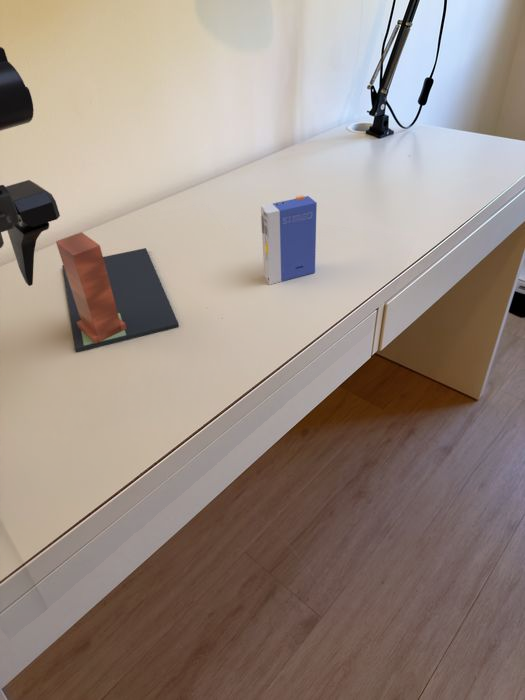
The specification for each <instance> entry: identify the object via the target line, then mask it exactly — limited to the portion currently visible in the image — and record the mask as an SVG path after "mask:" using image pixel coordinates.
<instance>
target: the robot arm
mask: <svg viewBox="0 0 525 700" xmlns="http://www.w3.org/2000/svg"><path fill="white" fill-rule="evenodd" d="M34 111H35V110H34V102H33V98H32V94H31V91H30V88H29V87H28V86H26V84H25V82H24V80H23V78H22V76H21V75H20V73H19V72H18V70H17V69H16V68H15V67H14V66H13V64H12V63H11V62H10V61H8V56H7V53H6V51H5V48H3V47H2V46H0V132H2V131H5V130H8V129H12V128H16V127H20V126H21V125H26V124H29V123H30V122H31V121H32V120H33V119H34ZM60 217H61V214H60V211H59V208H58V204H57V200H55V198H54V195H53V194H52V193H50V192H49V191H48V190H46V189H45V188H44V187H42V186H40V185H39V184H38V183H36V182H34V181H32V180H30V179H28V180H27V179H26V180H24V181H20V182H16V183H14V184H10V185H5V184H0V249H2V248H3V246H4V244H5V241H4V238H3V236H2V233H4V232H7V234H8V237H9V240H10V243H11V247H12V250H13V253H14V256H15V259H16V263H17V266H18V268H19V271H20V273H21V275H22V278H23V279H24V282H25V284H26V285H28V286H29V287H30V286H33V284H34V265H35V261H34V260H35V250H36V244H37V240H38V239H39V237H40V235H41V234H42V232H44V231H48V230H49V228H50V223H51V222H53V221H57V220H58V219H59V218H60Z"/></svg>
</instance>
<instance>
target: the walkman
mask: <svg viewBox="0 0 525 700" xmlns="http://www.w3.org/2000/svg"><path fill="white" fill-rule="evenodd" d="M317 203H318V202H316V201H315V199H313V198H312V197H310V196H309V195H306V196H305V195H304V194H303V195H298V196H295V198H293V199H288V200H287V199H286V200H281V201H279V202H278V201H277V202H273V203H268V204H264V205H260V214H261V215H260V223H261V236H262V237H261V238H262V257H263V258H262V260H263V261H262V262H263V276H264V278H265V281H266V282H267V283H268V284H269V285H273V284H278V283H281V282H285V281H288V280H292V279H296V278H300V277H304V276H308V275H311V274H315V273H316V249H317V246H316V244H317V210H318V209H317V207H318V205H317Z"/></svg>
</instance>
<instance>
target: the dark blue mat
mask: <svg viewBox="0 0 525 700" xmlns="http://www.w3.org/2000/svg"><path fill="white" fill-rule="evenodd" d="M103 259H104V263H105V267H106V271H107V274H108V278H109V282H110V286H111V289H112V293H113V297H114V301H115V305H116V308H117V312H118V316H119V318H120V319H121V320H122V321H123V322H124V323H125V324H126V328H127V329H126V330H123V331H121V332H119V333H117V334H115V335H113V336H111V337H109V338H106V339H104V340H102V341H100V342H98V343H96V344H94V343H93V342H92V341H91V340H90V339H89V338H88V337H87V336H86V335H85V334H84V333H83V332H82V331H81V330H80V329H79V328H78V325H77V322H78V321H80V320H81V318H80V315H79V312H78V309H77V306H76V303H75V300H74V297H73V294H72V290H71V287H70V284H69V281H68V278H67V275H66V272H65V269H64V265H63V264H62V265H61V267H62V274H63V278H64V286H65V287H64V288H65V293H66V294H65V295H66V300H67V306H68V313H69V318H70V326H71V332H72V340H73V345H74V351H75V353H79V352H82V351H87V350H91V349H94V348H99V347H102V346H107V345H111V344H116V343H119V342H123V341H127V340H128V341H129V340H131V339H134V338H141V337H144V336H148V335H151V334H156V333H160V332H164V331H168V330H171V329H175V328H179V327H180V325H179V322H178V319H177V317H176V315H175V312H174V310H173V308H172V305H171V303H170V300H169V298H168V295H167V294H166V291H165V289H164V287H163V284H162V282H161V280H160V277H159V275H158V273H157V271H156V267H155V265H154V263H153V261H152V258H151V256H150V254H149V251H148V250H147V247H144V248H140V249H135V250H128V251H125V252H120V253H115V254H110V255H106V256H105V255H104V256H103Z"/></svg>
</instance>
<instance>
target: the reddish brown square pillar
mask: <svg viewBox="0 0 525 700" xmlns="http://www.w3.org/2000/svg"><path fill="white" fill-rule="evenodd" d="M55 244H56V247H57V250H58V253H59V256H60V259H61V263H62V265H64V269H65V272H66V275H67V278H68V281H69V284H70V287H71V290H72V294H73V297H74V300H75V303H76V306H77V309H78V312H79V315H80V318H81V320H80V321H78V322H77V325H78V328H79V329H80V330H81V331H82V332H83V333H84V334H85V335H86V336H87V337H88V338H89V339H90V340H91V341H92V342H93V343H94V344H96V343H98V342H100V341H102V340H104V339H106V338H109V337H111V336H113V335H115V334H117V333H119V332H121V331H123V330H126V329H127V328H126V324H125V323H124V322H123V321H122V320H121V319H120V318H119V316H118V312H117V308H116V305H115V301H114V297H113V293H112V289H111V286H110V282H109V278H108V274H107V271H106V267H105V263H104V259H103V257H104V256H103V251H102V249H101V248H102V247H101V245H100V244H98V243H97V242H96V241H95V240H93V239H92V238H91V237H89V236H88V235H86V234H85V233H84V232H82V231H81V232H77V233H75V234H72V235H70V236H66V237H64V238H61V239H58V240H56V241H55Z"/></svg>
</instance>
